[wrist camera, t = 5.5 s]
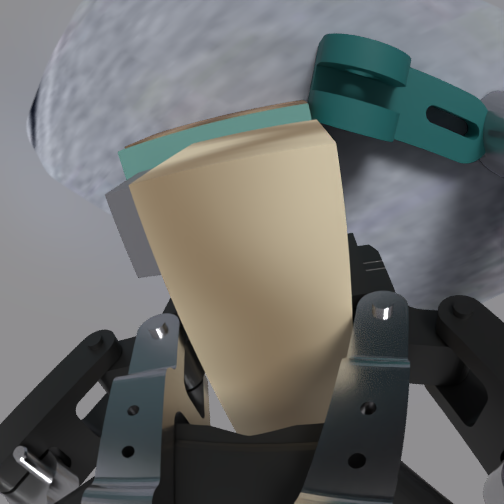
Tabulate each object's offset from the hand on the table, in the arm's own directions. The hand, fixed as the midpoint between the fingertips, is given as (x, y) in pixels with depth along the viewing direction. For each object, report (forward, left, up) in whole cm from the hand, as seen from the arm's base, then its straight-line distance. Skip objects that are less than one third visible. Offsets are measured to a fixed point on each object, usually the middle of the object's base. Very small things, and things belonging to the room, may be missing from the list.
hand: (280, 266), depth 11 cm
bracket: (-12, -3, -19) cm, 23 cm away
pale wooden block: (0, 0, 0) cm, 0 cm away
